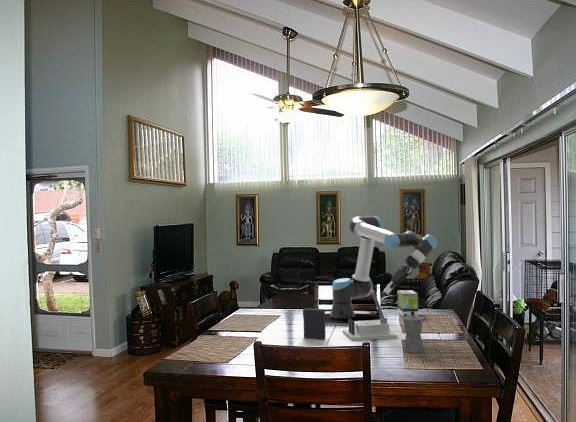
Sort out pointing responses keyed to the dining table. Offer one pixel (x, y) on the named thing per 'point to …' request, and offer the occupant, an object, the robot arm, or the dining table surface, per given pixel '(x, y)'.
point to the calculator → (314, 323)
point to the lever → (377, 304)
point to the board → (369, 336)
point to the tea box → (407, 302)
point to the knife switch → (369, 327)
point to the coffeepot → (413, 333)
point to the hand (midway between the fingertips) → (385, 292)
